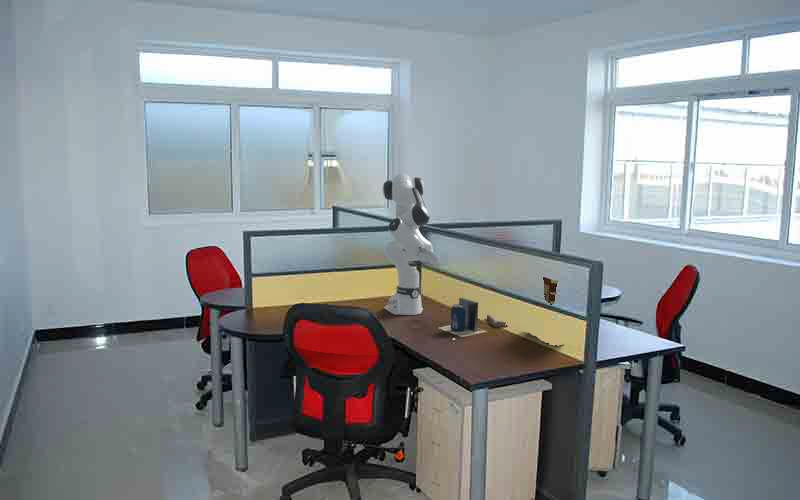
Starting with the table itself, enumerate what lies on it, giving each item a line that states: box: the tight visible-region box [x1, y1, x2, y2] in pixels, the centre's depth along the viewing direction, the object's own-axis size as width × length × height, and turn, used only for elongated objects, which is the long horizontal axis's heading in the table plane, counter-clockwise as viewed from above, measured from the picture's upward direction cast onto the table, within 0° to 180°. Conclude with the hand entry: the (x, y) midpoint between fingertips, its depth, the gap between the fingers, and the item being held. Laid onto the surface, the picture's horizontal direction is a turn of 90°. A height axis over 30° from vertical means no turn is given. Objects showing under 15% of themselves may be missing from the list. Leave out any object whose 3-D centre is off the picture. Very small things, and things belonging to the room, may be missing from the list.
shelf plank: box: [438, 324, 488, 338], centre depth 301 cm, size 18×16×2 cm
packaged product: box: [486, 314, 507, 328], centre depth 313 cm, size 18×5×10 cm
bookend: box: [458, 297, 483, 332], centre depth 302 cm, size 12×4×14 cm, turn 35°
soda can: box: [450, 303, 466, 332], centre depth 298 cm, size 7×7×12 cm
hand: (431, 265), depth 303 cm, fingers open, 8 cm apart
